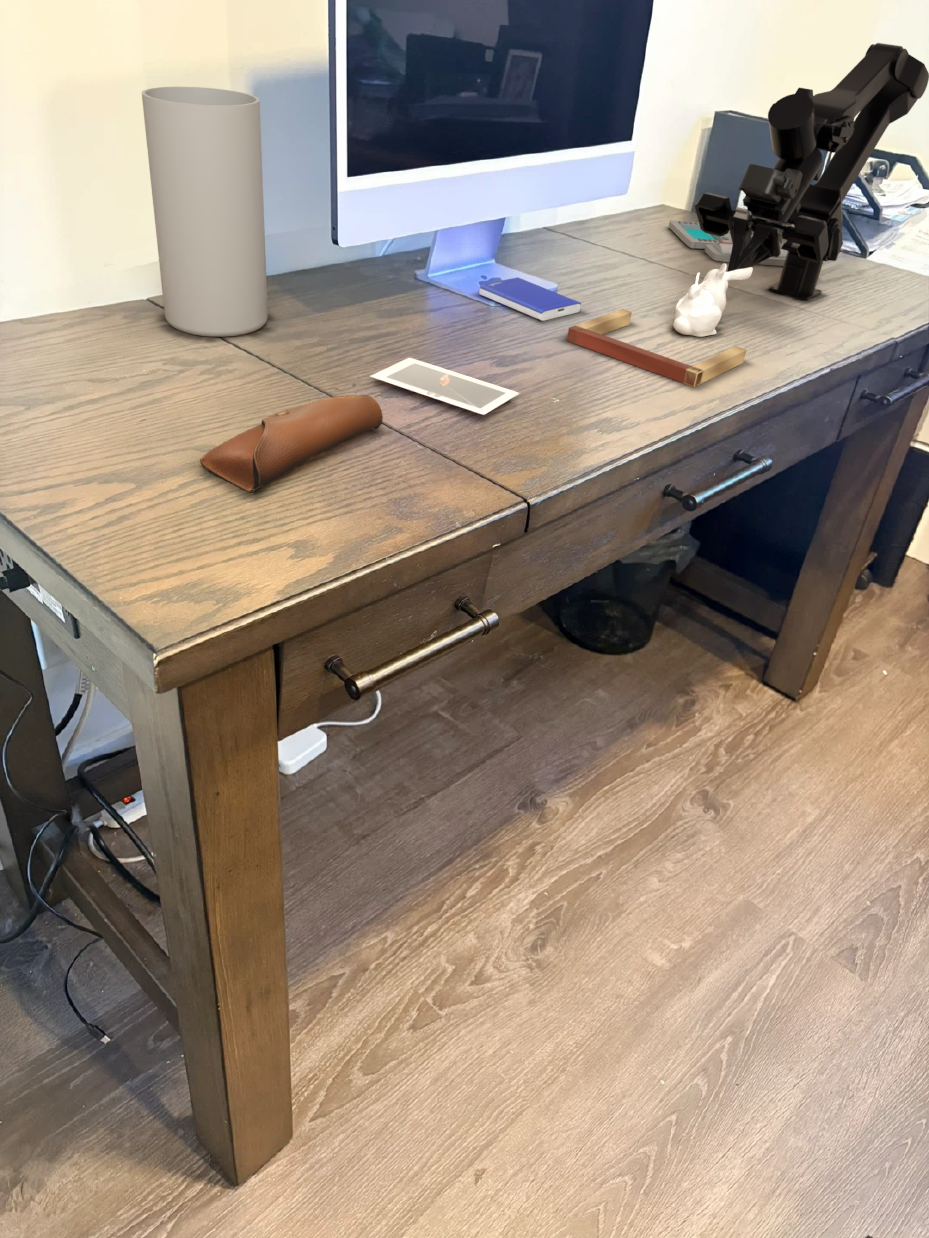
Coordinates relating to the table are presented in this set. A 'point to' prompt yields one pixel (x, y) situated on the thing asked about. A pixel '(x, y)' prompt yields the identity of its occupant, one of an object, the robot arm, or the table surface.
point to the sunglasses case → (291, 439)
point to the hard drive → (530, 298)
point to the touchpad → (446, 385)
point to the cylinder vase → (208, 208)
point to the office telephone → (714, 242)
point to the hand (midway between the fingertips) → (729, 277)
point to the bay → (693, 376)
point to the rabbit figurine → (706, 302)
